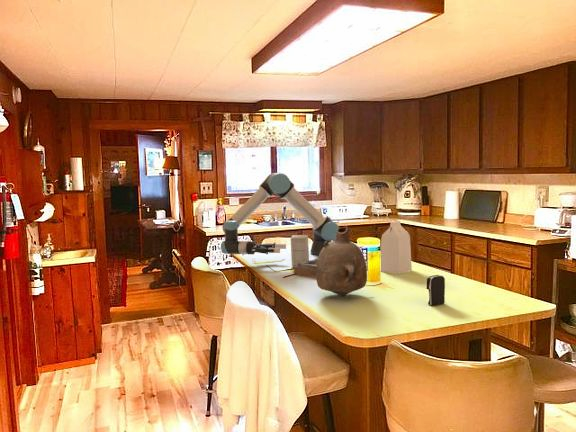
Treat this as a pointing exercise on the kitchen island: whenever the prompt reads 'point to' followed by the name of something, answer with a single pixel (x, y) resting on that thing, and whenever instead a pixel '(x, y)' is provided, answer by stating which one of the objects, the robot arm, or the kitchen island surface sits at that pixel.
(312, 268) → the display riser
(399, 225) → the milk
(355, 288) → the jug
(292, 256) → the supplement box
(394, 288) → the kitchen island surface
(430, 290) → the battery charger
